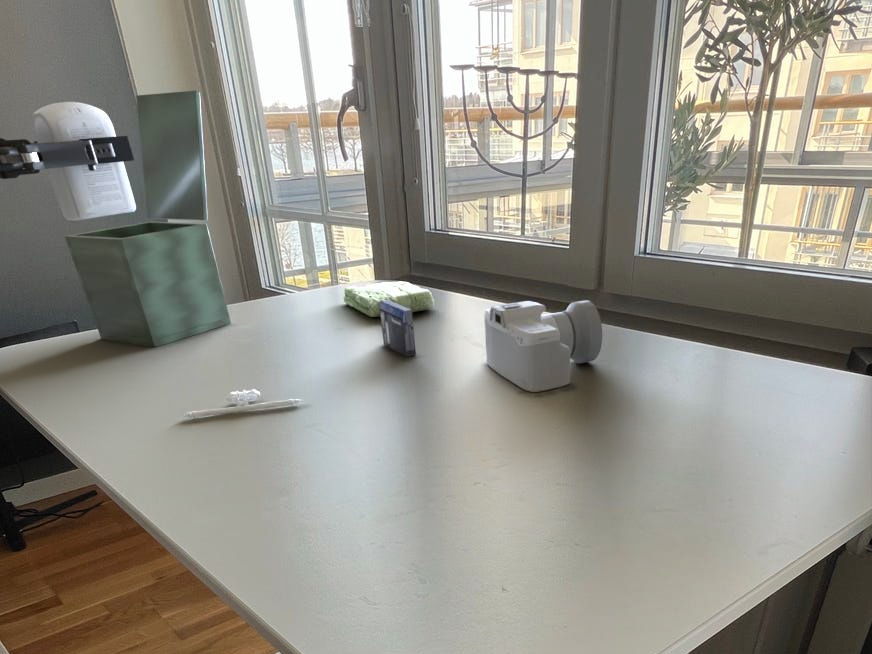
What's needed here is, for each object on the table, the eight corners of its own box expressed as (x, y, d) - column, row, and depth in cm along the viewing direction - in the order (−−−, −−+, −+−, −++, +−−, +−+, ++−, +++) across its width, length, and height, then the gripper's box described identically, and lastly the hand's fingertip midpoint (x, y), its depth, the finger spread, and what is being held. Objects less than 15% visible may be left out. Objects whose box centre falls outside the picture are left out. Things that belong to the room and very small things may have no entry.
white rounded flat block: (122, 210, 99) (88, 101, 92) (143, 211, 98) (110, 100, 90) (59, 221, 92) (17, 104, 85) (80, 222, 91) (39, 102, 83)
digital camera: (612, 411, 89) (628, 335, 81) (505, 420, 87) (511, 342, 79) (575, 347, 99) (586, 274, 92) (478, 353, 97) (482, 279, 89)
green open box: (155, 347, 110) (120, 239, 101) (100, 338, 116) (64, 236, 107) (231, 323, 121) (206, 223, 112) (178, 316, 127) (150, 221, 118)
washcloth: (406, 293, 134) (404, 274, 132) (439, 310, 121) (437, 290, 119) (340, 302, 130) (337, 283, 128) (367, 321, 117) (364, 301, 115)
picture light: (184, 419, 83) (178, 402, 81) (187, 408, 86) (181, 390, 85) (302, 404, 85) (299, 387, 84) (301, 393, 88) (297, 377, 87)
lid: (195, 90, 104) (199, 91, 105) (135, 95, 110) (140, 96, 111) (203, 220, 111) (207, 220, 112) (147, 217, 117) (151, 218, 118)
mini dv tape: (383, 344, 105) (378, 301, 102) (392, 342, 106) (388, 299, 102) (406, 356, 100) (401, 311, 96) (416, 354, 100) (411, 309, 97)
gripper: (-82, 201, 85) (88, 181, 100) (-4, 203, 77) (168, 181, 93) (-117, 124, 80) (67, 116, 96) (-38, 119, 73) (149, 111, 88)
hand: (116, 148), depth 94 cm, fingers closed on white rounded flat block, 4 cm apart
